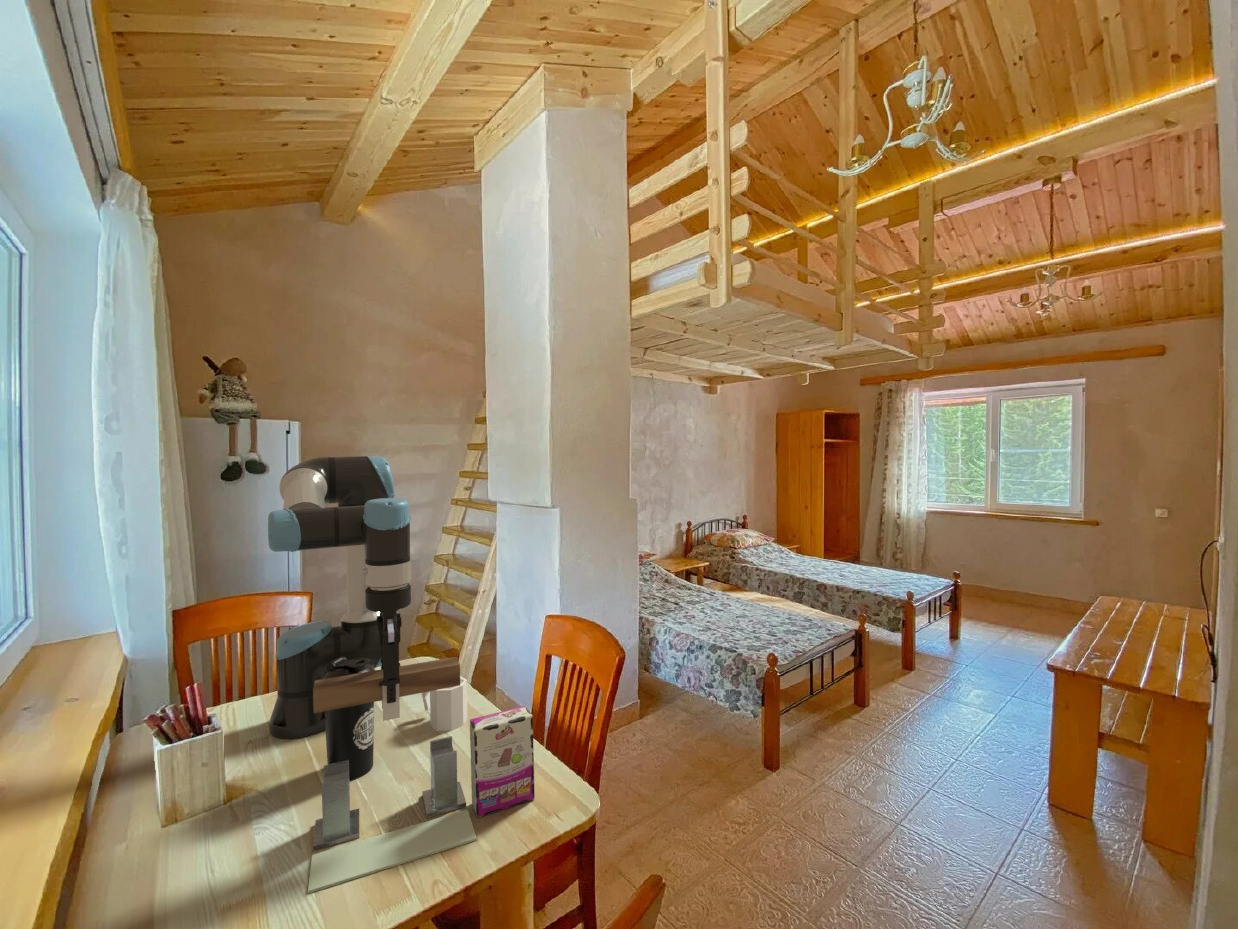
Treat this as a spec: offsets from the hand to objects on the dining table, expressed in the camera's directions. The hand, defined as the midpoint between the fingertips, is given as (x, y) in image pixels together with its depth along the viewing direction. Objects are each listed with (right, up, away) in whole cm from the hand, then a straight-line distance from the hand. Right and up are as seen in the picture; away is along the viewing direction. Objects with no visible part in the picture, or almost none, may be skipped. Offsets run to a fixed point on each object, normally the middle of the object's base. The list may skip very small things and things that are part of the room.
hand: (390, 712), depth 98 cm
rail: (0, +3, 0) cm, 3 cm away
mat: (+4, -19, -8) cm, 21 cm away
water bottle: (-14, -19, +15) cm, 28 cm away
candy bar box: (+19, -19, +4) cm, 28 cm away
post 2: (+8, -19, +4) cm, 21 cm away
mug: (-2, -18, +34) cm, 39 cm away
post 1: (-8, -19, -3) cm, 21 cm away
